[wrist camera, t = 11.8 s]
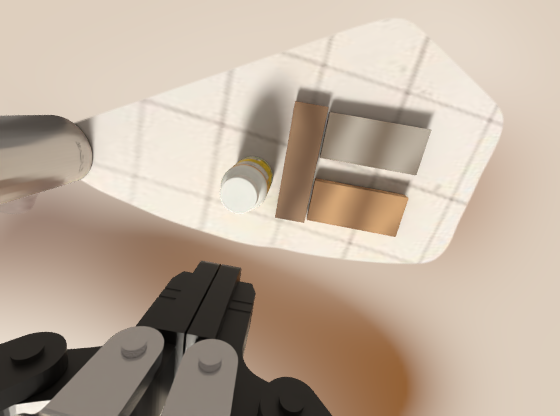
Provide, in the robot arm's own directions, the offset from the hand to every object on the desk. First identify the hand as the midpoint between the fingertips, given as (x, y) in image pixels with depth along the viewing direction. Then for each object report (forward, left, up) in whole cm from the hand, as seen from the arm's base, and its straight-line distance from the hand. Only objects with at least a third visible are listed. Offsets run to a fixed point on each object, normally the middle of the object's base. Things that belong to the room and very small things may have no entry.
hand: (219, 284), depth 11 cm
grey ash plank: (+11, +4, -28) cm, 31 cm away
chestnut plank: (+11, -4, -28) cm, 31 cm away
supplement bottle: (-3, -3, -29) cm, 29 cm away
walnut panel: (+3, 0, -28) cm, 28 cm away
